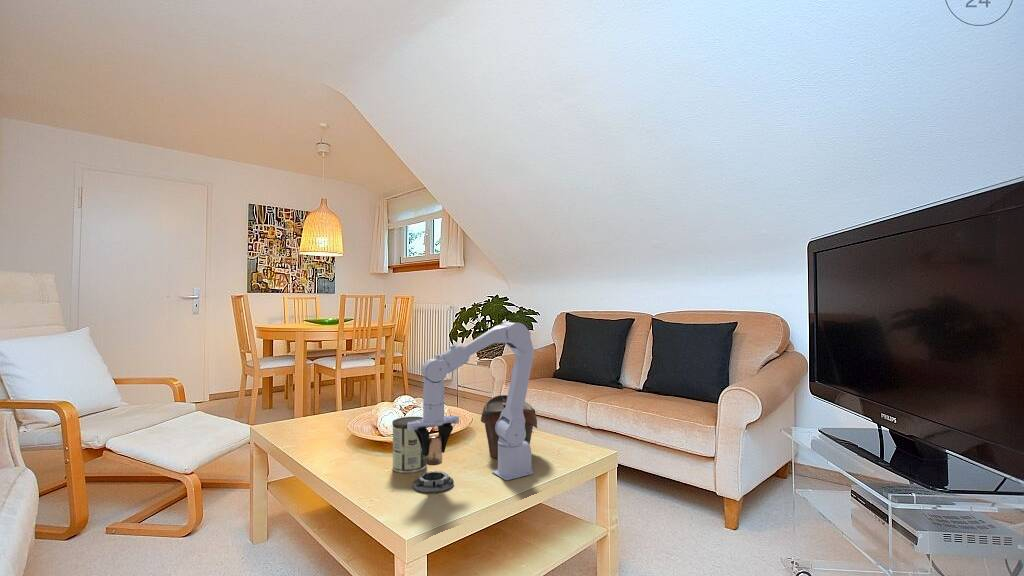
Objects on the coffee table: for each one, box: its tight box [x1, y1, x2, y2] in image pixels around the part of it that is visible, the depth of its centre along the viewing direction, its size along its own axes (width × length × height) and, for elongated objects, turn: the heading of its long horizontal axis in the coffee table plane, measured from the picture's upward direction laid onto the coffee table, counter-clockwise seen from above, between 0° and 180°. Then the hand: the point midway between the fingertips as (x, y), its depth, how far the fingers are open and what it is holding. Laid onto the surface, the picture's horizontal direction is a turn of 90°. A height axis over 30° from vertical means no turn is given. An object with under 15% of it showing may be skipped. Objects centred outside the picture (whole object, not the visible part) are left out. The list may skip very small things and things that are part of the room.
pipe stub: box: [426, 434, 443, 466], centre depth 129 cm, size 4×4×7 cm
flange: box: [412, 470, 455, 494], centre depth 129 cm, size 11×11×2 cm
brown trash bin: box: [480, 394, 538, 459], centre depth 156 cm, size 18×20×18 cm
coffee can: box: [391, 416, 428, 474], centre depth 144 cm, size 10×10×14 cm
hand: (433, 453), depth 130 cm, fingers closed on pipe stub, 4 cm apart
